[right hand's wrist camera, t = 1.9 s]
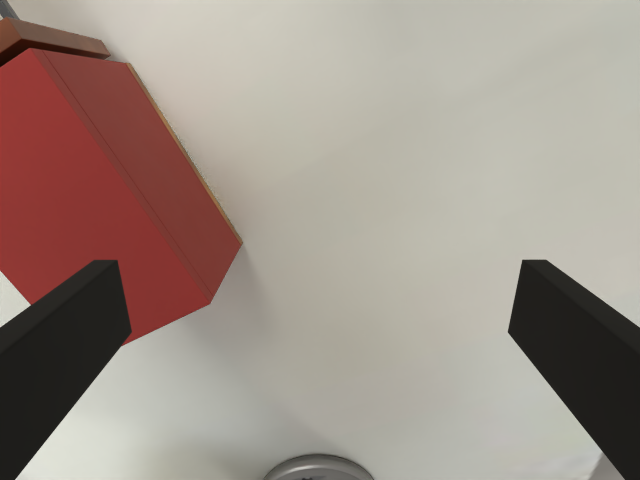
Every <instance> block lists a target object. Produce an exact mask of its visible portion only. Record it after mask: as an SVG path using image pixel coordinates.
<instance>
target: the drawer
mask: <svg viewBox="0 0 640 480" xmlns="http://www.w3.org/2000/svg"><path fill="white" fill-rule="evenodd" d="M0 14H1V16H2V17H3V18H4V19H2V20H1V21H0V67H2V66H3V65H5V64H6V63H8V62H9V61H11V60H12V59H14V58H15V57H17V56H18V55H20V54H21V53H23V52H24V51H26V50H27V49H29V48H34V49H40V50H46V51H52V52H58V53H65V54H71V55H77V56H83V57H89V58H96V59H102V60H104V59H106V58H107V57H109V56H110V53H109V52H108V50H107V48H106V47H105V45H104V44H103V42H102V41H101V40H98V39H94V38H90V37H86V36H82V35H78V34H74V33H70V32H66V31H62V30H58V29H54V28H50V27H46V26H42V25H38V24H34V23H30V22H26V21H22V20H20V19H19V18H18V16H17V15H16V13H15V12H14V10H13V9H12V8H11V6H10V5H9V3H8V2H7V0H0Z"/></svg>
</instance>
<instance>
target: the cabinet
mask: <svg viewBox="0 0 640 480" xmlns="http://www.w3.org/2000/svg"><path fill="white" fill-rule="evenodd" d="M242 243H243V242H242V240H241V238H240V237H239V235H238V234H237V232H236V231H235V229H234V227H233V226H232V224H231V223H230V221H229V219H228V218H227V216H226V215H225V213H224V211H223V210H222V208H221V207H220V205H219V204H218V202H217V200H216V199H215V197H214V196H213V194H212V192H211V191H210V189H209V188H208V186H207V184H206V183H205V181H204V180H203V178H202V177H201V175H200V173H199V172H198V170H197V169H196V167H195V165H194V164H193V162H192V161H191V159H190V157H189V156H188V154H187V153H186V151H185V150H184V148H183V146H182V145H181V143H180V142H179V140H178V138H177V137H176V135H175V134H174V132H173V130H172V129H171V127H170V126H169V124H168V123H167V121H166V119H165V118H164V116H163V115H162V113H161V111H160V110H159V108H158V107H157V105H156V104H155V102H154V100H153V99H152V97H151V96H150V94H149V92H148V91H147V89H146V88H145V86H144V84H143V83H142V81H141V80H140V78H139V77H138V75H137V73H136V72H135V70H134V69H133V67H132V65H131V64H130V63H120V62H114V61H108V60H102V59H96V58H89V57H83V56H77V55H71V54H65V53H58V52H52V51H46V50H40V49H34V48H29V49H27V50H26V51H24V52H23V53H21V54H20V55H18V56H17V57H15V58H14V59H12V60H11V61H9V62H8V63H6V64H5V65H3V66H2V67H0V271H1V272H2V273H3V274H4V275H5V276H6V277H7V279H8V280H9V281H10V282H11V283H12V284H13V285H14V286H15V288H16V289H17V290H18V291H19V292H20V293H21V294H22V295H23V296H24V298H25V299H26V300H27V301H28V302H29V303H30V304H31V305H32V304H34V303H35V302H36V301H38V300H39V299H40V298H42V297H43V296H45V295H46V294H47V293H49V292H50V291H51V290H53V289H54V288H56V287H57V286H58V285H60V284H61V283H63V282H64V281H65V280H67V279H68V278H69V277H71V276H72V275H74V274H75V273H76V272H78V271H79V270H80V269H82V268H83V267H85V266H86V265H87V264H89V263H90V262H92V261H93V260H118V264H119V269H120V274H121V279H122V284H123V289H124V294H125V299H126V304H127V309H128V314H129V319H130V324H131V329H132V333H131V334H130V336H129V337H128V338H127V339H126V341H125V342H124V343H123V344H122V346H123V345H125V344H127V343H129V342H131V341H133V340H135V339H138V338H140V337H142V336H144V335H146V334H148V333H150V332H152V331H154V330H156V329H158V328H161V327H163V326H165V325H167V324H169V323H171V322H173V321H175V320H177V319H179V318H182V317H184V316H186V315H188V314H190V313H192V312H194V311H196V310H198V309H200V308H202V307H205V306H207V305H209V304H210V303H211V301H212V299H213V297H214V295H215V294H216V292H217V290H218V288H219V286H220V284H221V282H222V280H223V278H224V277H225V275H226V273H227V271H228V269H229V267H230V265H231V263H232V261H233V260H234V258H235V256H236V254H237V252H238V250H239V248H240V246H241V245H242Z"/></svg>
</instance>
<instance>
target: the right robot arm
mask: <svg viewBox="0 0 640 480" xmlns="http://www.w3.org/2000/svg"><path fill="white" fill-rule="evenodd" d="M131 333H132V329H131V324H130V319H129V314H128V309H127V304H126V299H125V294H124V289H123V284H122V279H121V274H120V269H119V264H118V260H93V261H92V262H90V263H89V264H87V265H86V266H85V267H83V268H82V269H80V270H79V271H78V272H76V273H75V274H74V275H72V276H71V277H69V278H68V279H67V280H65V281H64V282H63V283H61V284H60V285H58V286H57V287H56V288H54V289H53V290H51V291H50V292H49V293H47V294H46V295H45V296H43V297H42V298H40V299H39V300H38V301H36V302H35V303H34V304H32V305H31V306H29V307H28V308H27V309H25V310H24V311H23V312H21V313H20V314H18V315H17V316H16V317H14V318H13V319H11V320H10V321H9V322H7V323H6V324H5V325H3V326H2V327H0V480H15V479H16V478H17V477H18V475H19V474H20V473H21V471H22V470H23V469H24V468H25V466H26V465H27V464H28V463H29V461H30V460H31V459H32V458H33V456H34V455H35V454H36V453H37V451H38V450H39V449H40V448H41V446H42V445H43V444H44V443H45V441H46V440H47V439H48V437H49V436H50V435H51V434H52V432H53V431H54V430H55V429H56V427H57V426H58V425H59V424H60V422H61V421H62V420H63V419H64V417H65V416H66V415H67V414H68V412H69V411H70V410H71V409H72V407H73V406H74V405H75V404H76V402H77V401H78V400H79V398H80V397H81V396H82V395H83V393H84V392H85V391H86V390H87V388H88V387H89V386H90V385H91V383H92V382H93V381H94V380H95V378H96V377H97V376H98V375H99V373H100V372H101V371H102V370H103V368H104V367H105V366H106V365H107V363H108V362H109V361H110V359H111V358H112V357H113V356H114V354H115V353H116V352H117V351H118V349H119V348H120V347H121V346H122V344H123V343H124V342H125V341H126V339H127V338H128V337H129V336H130V334H131ZM508 333H509V334H510V336H511V337H512V338H513V339H514V341H515V342H516V343H517V344H518V346H519V347H520V348H521V349H522V351H523V352H524V353H525V354H526V356H527V357H528V358H529V359H530V361H531V362H532V363H533V365H534V366H535V367H536V368H537V370H538V371H539V372H540V373H541V375H542V376H543V377H544V378H545V380H546V381H547V382H548V383H549V385H550V386H551V387H552V388H553V390H554V391H555V392H556V393H557V395H558V396H559V397H560V398H561V400H562V401H563V402H564V404H565V405H566V406H567V407H568V409H569V410H570V411H571V412H572V414H573V415H574V416H575V417H576V419H577V420H578V421H579V422H580V424H581V425H582V426H583V427H584V429H585V430H586V431H587V432H588V434H589V435H590V436H591V437H592V439H593V440H594V441H595V443H596V444H597V445H598V446H599V448H600V449H601V450H602V451H603V453H604V454H605V455H606V456H607V458H608V459H609V460H610V461H611V463H612V464H613V465H614V466H615V468H616V469H617V470H618V471H619V473H620V474H621V475H622V476H623V478H624V479H625V480H640V327H638V326H637V325H635V324H634V323H633V322H631V321H630V320H629V319H627V318H626V317H624V316H623V315H622V314H620V313H619V312H617V311H616V310H615V309H613V308H612V307H611V306H609V305H608V304H606V303H605V302H604V301H602V300H601V299H600V298H598V297H597V296H595V295H594V294H593V293H591V292H590V291H588V290H587V289H586V288H584V287H583V286H582V285H580V284H579V283H577V282H576V281H575V280H573V279H572V278H571V277H569V276H568V275H566V274H565V273H564V272H562V271H561V270H560V269H558V268H557V267H555V266H554V265H553V264H551V263H550V262H548V261H547V260H522V264H521V269H520V274H519V279H518V284H517V289H516V294H515V299H514V304H513V309H512V314H511V319H510V324H509V329H508ZM263 480H373V478H372V477H371V476H370V475H369V474H368V473H367V472H366V471H365V470H364V469H363V468H361V467H360V466H358V465H356V464H355V463H353V462H350V461H348V460H345V459H342V458H339V457H334V456H327V455H309V456H302V457H298V458H294V459H291V460H288V461H286V462H284V463H282V464H280V465H278V466H277V467H275V468H274V469H273V470H271V471H270V472H269V473H268V474H267V475H266V477H265V478H264V479H263Z"/></svg>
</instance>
